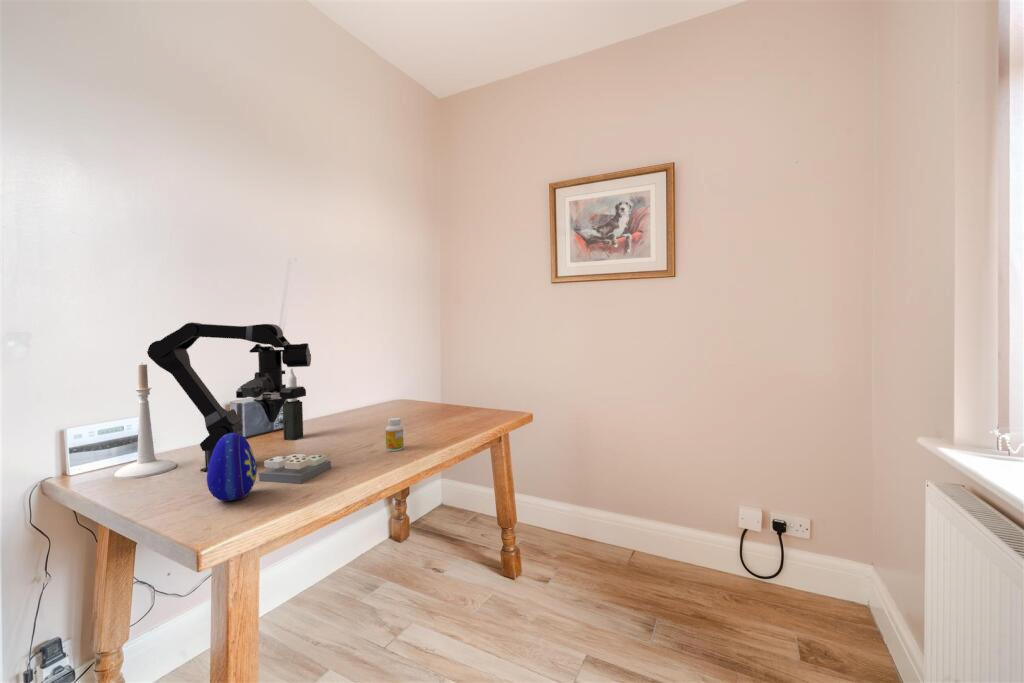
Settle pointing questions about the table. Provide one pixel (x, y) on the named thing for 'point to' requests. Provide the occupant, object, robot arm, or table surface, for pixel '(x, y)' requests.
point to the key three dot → (316, 460)
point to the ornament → (231, 468)
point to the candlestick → (144, 438)
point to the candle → (292, 414)
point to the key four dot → (297, 463)
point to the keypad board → (293, 473)
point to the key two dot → (276, 462)
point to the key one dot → (297, 456)
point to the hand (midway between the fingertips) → (272, 422)
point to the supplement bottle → (394, 435)
